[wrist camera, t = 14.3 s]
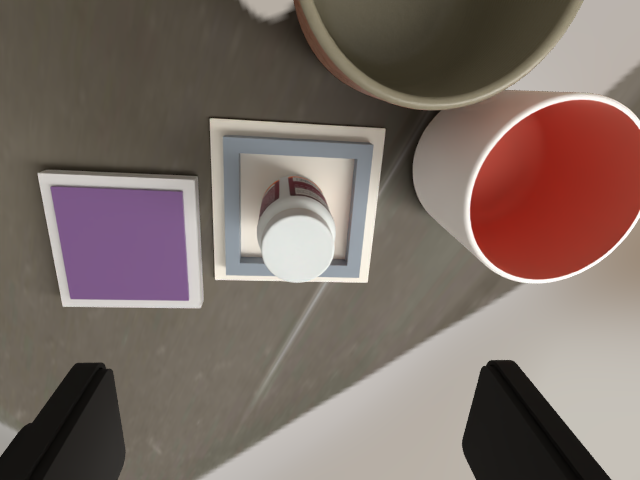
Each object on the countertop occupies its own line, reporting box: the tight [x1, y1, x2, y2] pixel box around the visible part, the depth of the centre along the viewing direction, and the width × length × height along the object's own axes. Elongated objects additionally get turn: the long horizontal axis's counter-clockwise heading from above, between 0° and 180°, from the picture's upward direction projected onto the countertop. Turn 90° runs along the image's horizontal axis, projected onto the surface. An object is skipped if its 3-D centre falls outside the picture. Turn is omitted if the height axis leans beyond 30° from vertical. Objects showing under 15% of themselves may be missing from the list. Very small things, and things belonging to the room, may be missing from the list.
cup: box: [413, 90, 640, 283], centre depth 25 cm, size 10×10×10 cm
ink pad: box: [38, 170, 204, 308], centre depth 29 cm, size 10×10×2 cm
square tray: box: [210, 118, 386, 283], centre depth 29 cm, size 12×12×2 cm
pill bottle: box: [257, 176, 336, 283], centre depth 26 cm, size 5×5×8 cm
